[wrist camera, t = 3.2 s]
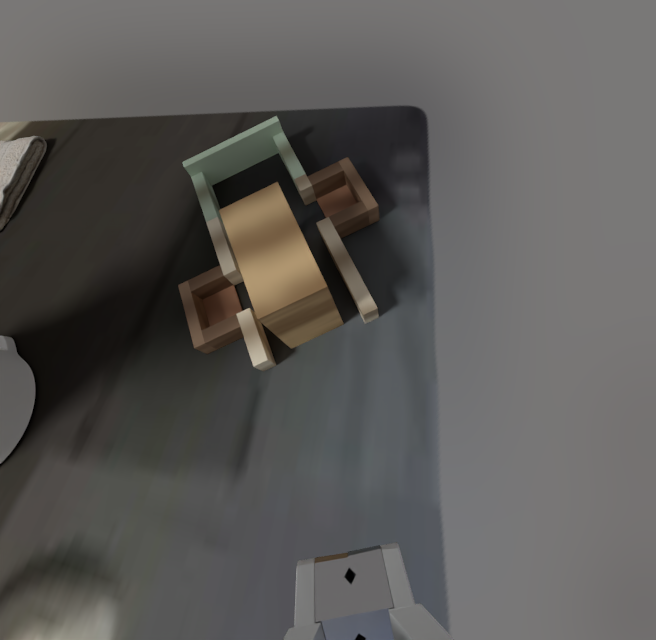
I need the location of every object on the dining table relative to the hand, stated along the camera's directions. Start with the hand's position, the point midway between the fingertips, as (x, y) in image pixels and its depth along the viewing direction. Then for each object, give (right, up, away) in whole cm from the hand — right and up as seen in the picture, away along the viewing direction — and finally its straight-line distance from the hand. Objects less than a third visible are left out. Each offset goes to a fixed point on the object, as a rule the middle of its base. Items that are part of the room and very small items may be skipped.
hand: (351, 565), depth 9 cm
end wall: (-12, +28, +34) cm, 45 cm away
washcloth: (-54, +28, +43) cm, 75 cm away
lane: (-7, +16, +28) cm, 33 cm away
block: (-4, +11, +26) cm, 28 cm away
